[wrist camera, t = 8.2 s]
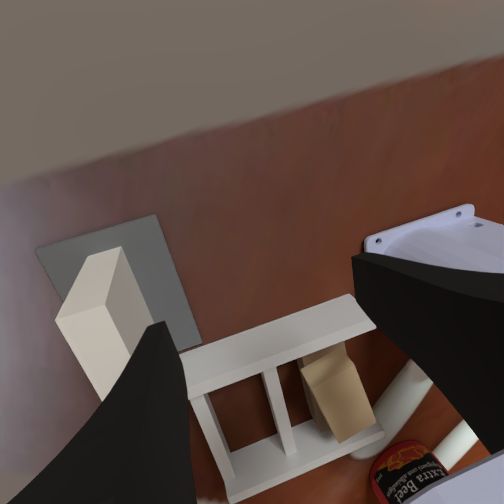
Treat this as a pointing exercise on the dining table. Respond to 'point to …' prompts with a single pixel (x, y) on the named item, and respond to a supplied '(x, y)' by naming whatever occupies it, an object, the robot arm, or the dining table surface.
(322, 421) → the offcut low
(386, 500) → the canned food
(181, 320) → the mat
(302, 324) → the rack
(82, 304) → the cream rectangular block
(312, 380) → the offcut top
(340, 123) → the dining table surface
